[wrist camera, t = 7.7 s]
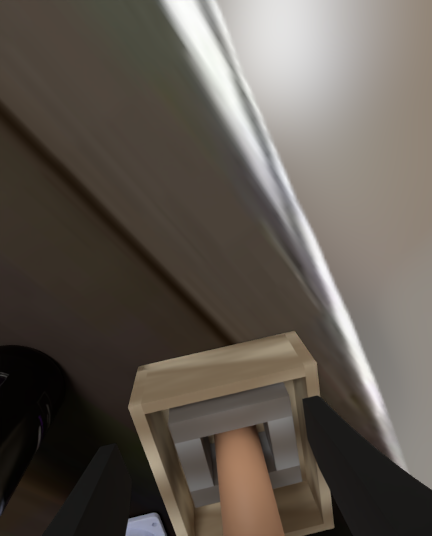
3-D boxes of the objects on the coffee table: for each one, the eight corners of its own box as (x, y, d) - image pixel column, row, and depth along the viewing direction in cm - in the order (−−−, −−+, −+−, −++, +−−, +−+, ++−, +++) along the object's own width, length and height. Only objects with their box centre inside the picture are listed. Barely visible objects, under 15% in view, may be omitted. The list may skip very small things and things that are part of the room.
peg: (255, 424, 24) (292, 567, 15) (217, 434, 24) (233, 582, 15) (248, 394, 23) (283, 529, 14) (208, 404, 23) (219, 545, 14)
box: (313, 478, 27) (334, 527, 23) (187, 509, 27) (187, 564, 23) (294, 330, 22) (316, 363, 18) (138, 366, 22) (127, 407, 18)
